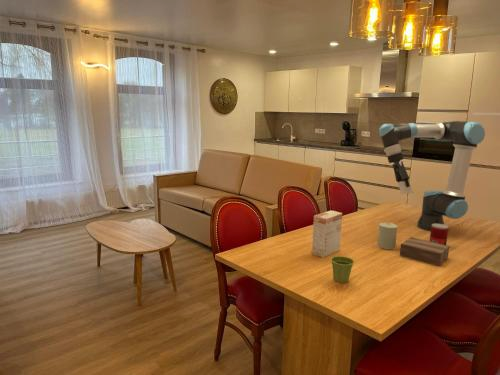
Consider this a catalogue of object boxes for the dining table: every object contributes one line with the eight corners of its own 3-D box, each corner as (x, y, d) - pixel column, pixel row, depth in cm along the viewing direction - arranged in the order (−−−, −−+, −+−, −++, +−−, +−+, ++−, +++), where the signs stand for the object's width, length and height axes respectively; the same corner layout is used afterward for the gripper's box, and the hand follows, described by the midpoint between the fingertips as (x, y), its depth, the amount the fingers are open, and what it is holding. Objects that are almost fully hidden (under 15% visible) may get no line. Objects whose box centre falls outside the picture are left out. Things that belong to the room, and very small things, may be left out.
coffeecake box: (328, 246, 192) (330, 210, 188) (340, 250, 187) (343, 212, 183) (310, 253, 181) (313, 215, 177) (323, 258, 176) (325, 218, 172)
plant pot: (326, 275, 158) (327, 256, 156) (348, 274, 158) (349, 255, 157) (333, 285, 148) (334, 265, 147) (356, 284, 149) (357, 264, 147)
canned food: (447, 248, 192) (450, 228, 190) (431, 247, 194) (433, 227, 191) (443, 243, 199) (446, 224, 197) (427, 242, 201) (430, 222, 199)
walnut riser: (409, 248, 192) (411, 237, 190) (447, 257, 180) (449, 246, 178) (399, 255, 181) (400, 243, 180) (439, 266, 170) (440, 253, 168)
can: (395, 244, 197) (397, 222, 194) (396, 250, 188) (398, 227, 186) (377, 242, 200) (379, 220, 197) (376, 247, 191) (378, 225, 189)
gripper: (383, 158, 205) (394, 195, 204) (391, 153, 181) (404, 195, 179) (396, 154, 204) (408, 191, 202) (406, 149, 179) (420, 191, 178)
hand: (406, 193), depth 191 cm, fingers open, 13 cm apart
